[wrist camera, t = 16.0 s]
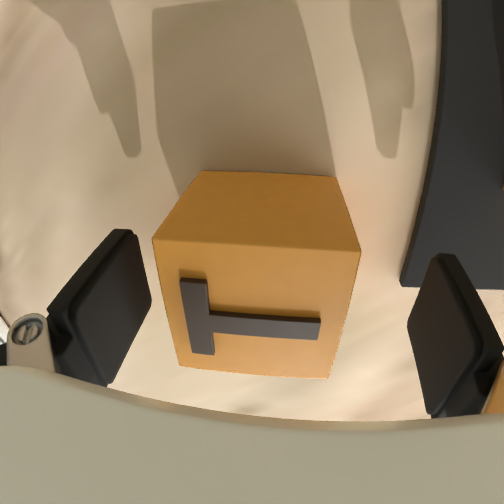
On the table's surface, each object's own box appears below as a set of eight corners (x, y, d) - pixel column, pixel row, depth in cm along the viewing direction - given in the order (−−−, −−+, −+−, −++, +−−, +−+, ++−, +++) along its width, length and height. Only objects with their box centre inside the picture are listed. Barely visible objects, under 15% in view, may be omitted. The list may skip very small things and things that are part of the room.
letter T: (208, 278, 15) (177, 371, 10) (200, 170, 12) (147, 242, 7) (321, 285, 14) (329, 384, 10) (336, 176, 11) (363, 255, 7)
